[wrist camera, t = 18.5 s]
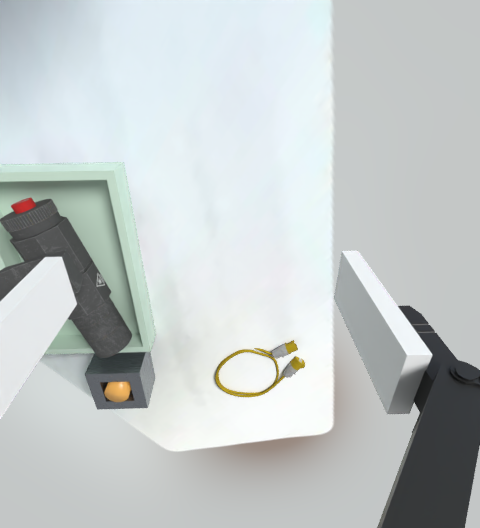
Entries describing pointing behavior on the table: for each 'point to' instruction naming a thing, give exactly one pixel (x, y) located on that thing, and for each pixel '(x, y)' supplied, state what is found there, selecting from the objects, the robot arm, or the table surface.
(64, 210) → the tray
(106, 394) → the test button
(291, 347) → the extension cord
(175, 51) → the table surface
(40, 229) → the laser sight
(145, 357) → the grey square holder
